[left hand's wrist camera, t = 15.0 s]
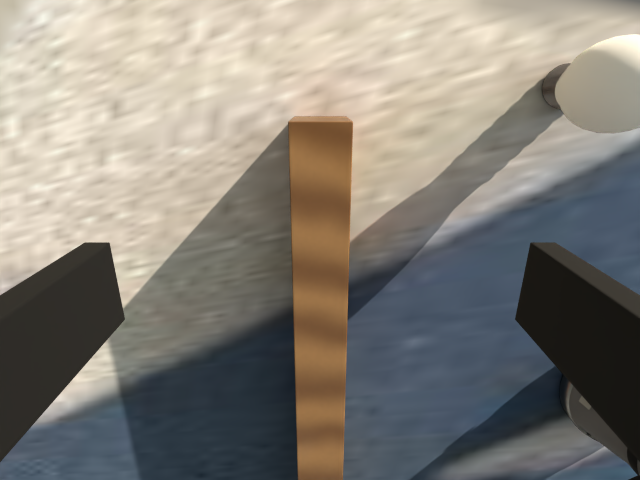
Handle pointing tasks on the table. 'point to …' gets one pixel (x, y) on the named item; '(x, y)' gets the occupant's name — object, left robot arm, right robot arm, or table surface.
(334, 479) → the beam
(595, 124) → the light bulb
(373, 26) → the table surface
